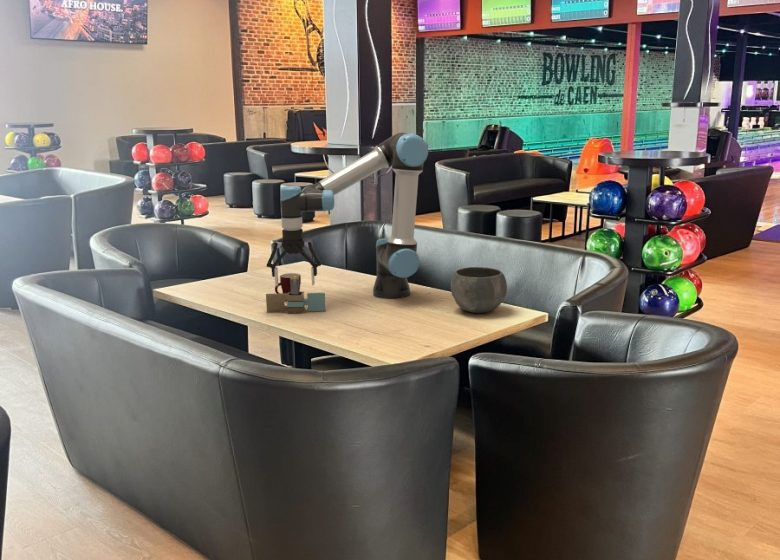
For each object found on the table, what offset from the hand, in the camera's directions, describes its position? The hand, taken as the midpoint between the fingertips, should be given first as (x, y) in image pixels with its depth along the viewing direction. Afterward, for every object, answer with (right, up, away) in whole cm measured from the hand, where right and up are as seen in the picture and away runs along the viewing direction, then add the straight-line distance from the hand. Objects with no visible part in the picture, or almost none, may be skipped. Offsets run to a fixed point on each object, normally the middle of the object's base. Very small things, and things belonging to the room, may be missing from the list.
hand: (295, 285), depth 289 cm
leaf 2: (+4, -10, +2) cm, 11 cm away
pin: (0, -10, +2) cm, 10 cm away
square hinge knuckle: (-4, -10, +2) cm, 11 cm away
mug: (-5, -6, +19) cm, 21 cm away
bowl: (+68, -10, -2) cm, 69 cm away
